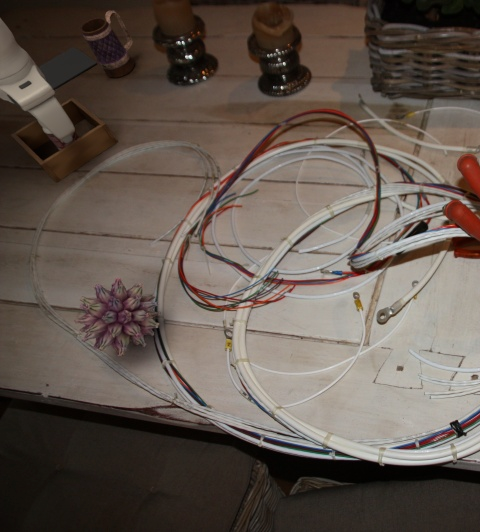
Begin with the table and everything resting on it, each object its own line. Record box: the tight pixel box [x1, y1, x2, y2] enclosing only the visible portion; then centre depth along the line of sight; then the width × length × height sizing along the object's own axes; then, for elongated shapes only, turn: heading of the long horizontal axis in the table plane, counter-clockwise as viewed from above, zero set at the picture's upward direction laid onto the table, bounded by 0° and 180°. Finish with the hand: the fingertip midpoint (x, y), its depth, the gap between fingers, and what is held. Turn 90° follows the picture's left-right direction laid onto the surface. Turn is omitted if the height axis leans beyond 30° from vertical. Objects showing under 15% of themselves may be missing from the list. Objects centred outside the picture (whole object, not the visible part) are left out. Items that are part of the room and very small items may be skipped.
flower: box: [73, 277, 161, 357], centre depth 83 cm, size 12×12×12 cm
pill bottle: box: [38, 120, 80, 151], centre depth 113 cm, size 5×5×8 cm
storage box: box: [10, 97, 119, 183], centre depth 115 cm, size 15×15×5 cm
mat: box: [38, 46, 98, 91], centre depth 134 cm, size 12×12×1 cm
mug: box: [80, 10, 135, 79], centre depth 127 cm, size 10×7×12 cm
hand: (61, 134), depth 114 cm, fingers closed on pill bottle, 5 cm apart
